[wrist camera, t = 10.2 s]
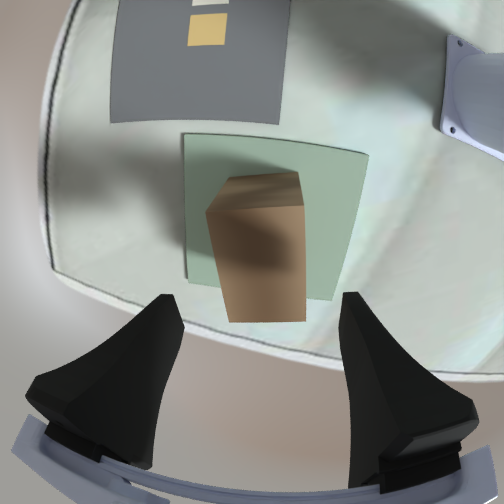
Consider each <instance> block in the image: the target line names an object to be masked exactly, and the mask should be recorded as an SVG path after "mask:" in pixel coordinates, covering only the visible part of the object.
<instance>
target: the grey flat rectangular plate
mask: <svg viewBox="0 0 504 504" xmlns="http://www.w3.org/2000/svg"><path fill="white" fill-rule="evenodd" d="M289 10H290V0H120V4H119V10H118V16H117V23H116V30H115V39H114V48H113V60H112V76H111V123H120V122H132V121H149V120H225V121H242V122H255V123H266V124H276V125H279V119H280V109H281V99H282V89H283V78H284V67H285V57H286V45H287V34H288V22H289Z"/></svg>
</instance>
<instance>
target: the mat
mask: <svg viewBox="0 0 504 504" xmlns="http://www.w3.org/2000/svg"><path fill="white" fill-rule="evenodd" d="M368 160H369V155H367V154H362V153H358V152H353V151H348V150H343V149H337V148H332V147H326V146H320V145H314V144H307V143H300V142H293V141H285V140H277V139H267V138H257V137H246V136H232V135H214V134H184V202H185V233H186V253H187V270H188V283H193V284H199V285H206V286H213V287H220V288H221V285H220V281H219V276H218V272H217V267H216V262H215V258H214V253H213V248H212V244H211V239H210V234H209V229H208V224H207V219H206V214H205V211H206V210H207V208H208V207H209V205H210V204H211V203H212V201H213V200H214V198H215V197H216V195H217V194H218V192H219V191H220V189H221V188H222V187H223V185H224V184H225V182H226V181H227V179H228V178H229V177H236V176H247V175H259V174H273V173H289V172H298V174H299V179H300V184H301V190H302V195H303V201H304V209H305V238H306V298H308V299H317V300H327V301H332V298H333V295H334V292H335V289H336V286H337V283H338V279H339V276H340V273H341V270H342V266H343V263H344V259H345V256H346V252H347V249H348V245H349V242H350V238H351V234H352V230H353V226H354V223H355V219H356V215H357V210H358V206H359V202H360V198H361V193H362V189H363V184H364V179H365V175H366V170H367V165H368Z"/></svg>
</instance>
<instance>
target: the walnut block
mask: <svg viewBox="0 0 504 504" xmlns="http://www.w3.org/2000/svg"><path fill="white" fill-rule="evenodd" d="M205 214H206V219H207V224H208V229H209V234H210V239H211V244H212V248H213V253H214V258H215V262H216V267H217V272H218V276H219V281H220V285H221V289H222V294H223V298H224V302H225V307H226V311H227V315H228V319H229V322H301V321H306V238H305V209H304V201H303V195H302V190H301V184H300V179H299V174H298V172H289V173H273V174H259V175H247V176H236V177H229V178H228V179H227V181H226V182H225V184H224V185H223V187H222V188H221V189H220V191H219V192H218V194H217V195H216V197H215V198H214V200H213V201H212V203H211V204H210V205H209V207H208V208H207V210H206V211H205Z"/></svg>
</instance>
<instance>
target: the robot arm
mask: <svg viewBox="0 0 504 504" xmlns="http://www.w3.org/2000/svg"><path fill="white" fill-rule="evenodd" d="M457 41H458V42H459V43H460V46H459V45H458V42H457ZM451 127H452V128H453V131H452V133H451V132H450V128H451ZM440 130H441V132H442V133H443V134H446V135H448V136H451V137H453V138H455V139H458V140H460V141H462V142H465V143H467V144H469V145H471V146H474V147H476V148H478V149H480V150H482V151H484V152H486V153H488V154H490V155H492V156H494V157H496V158H498V159H500V160H502V161H504V53H488V54H486V53H484V52H483V51H481V50H479V49H478V48H476V47H475V46H473V45H471V44H470V43H468V42H466V41H464V40H463V39H461V38H459V37H457V36H455V35H453V34H452V35H448V36H447V61H446V78H445V89H444V99H443V107H442V114H441V121H440ZM184 328H185V327H184V324H183V321H182V318H181V316H180V313H179V310H178V307H177V304H176V301H175V299H174V296H173V294H160V295H159V296H158V297H157V298H156V299H154V300H153V301H152V302H151V303H150V304H149V305H148V306H146V307H145V308H144V309H143V310H142V311H141V312H140V313H139V314H137V315H136V316H135V317H134V318H133V319H132V320H131V321H130V322H128V323H127V324H126V325H125V326H124V327H122V328H121V329H120V330H119V331H118V332H116V333H115V334H114V335H113V336H111V337H110V338H109V339H107V340H106V341H105V342H103V343H102V344H101V345H99V346H98V347H96V348H95V349H93V350H91V351H90V352H88V353H86V354H85V355H83V356H81V357H80V358H78V359H76V360H74V361H72V362H70V363H68V364H66V365H64V366H62V367H59V368H57V369H55V370H52V371H49V372H46V373H44V374H41V375H38V376H36V377H35V379H34V381H33V382H32V384H31V386H30V388H29V389H28V391H27V393H26V395H25V397H26V399H27V400H28V402H29V403H30V404H31V405H32V406H33V407H34V408H35V409H36V410H37V411H39V412H40V413H41V414H42V415H43V416H44V417H45V418H47V419H48V420H49V421H50V422H49V424H48V425H46V424H45V423H43V422H42V421H40V420H39V419H37V418H35V417H34V416H32V415H31V414H29V415H28V416H27V418H26V420H25V422H24V424H23V426H22V428H21V430H20V432H19V434H18V436H17V438H16V441H15V443H14V445H13V447H12V449H11V451H12V453H13V454H15V455H16V456H17V457H18V458H19V459H21V460H22V461H23V462H24V463H25V464H27V465H28V466H29V467H30V468H31V469H32V470H34V471H35V472H36V473H37V474H39V475H40V476H41V477H42V478H43V479H45V480H46V481H47V482H48V483H49V484H51V485H52V486H53V487H55V488H56V489H57V490H59V491H60V492H61V493H63V494H64V495H66V496H67V497H68V498H70V499H71V500H73V501H74V502H76V503H77V504H170V501H169V500H168V499H165V498H162V497H159V496H156V495H154V494H152V493H150V492H148V491H145V490H142V489H140V488H137V487H134V486H132V485H131V483H130V482H129V481H131V482H133V483H137V484H139V485H142V486H145V487H148V488H151V489H155V490H158V491H162V492H165V493H169V494H173V495H177V496H181V497H185V498H190V499H195V500H199V501H204V502H210V503H216V504H487V503H488V502H490V501H492V500H493V499H495V498H497V496H498V489H497V482H496V476H495V470H494V464H493V459H492V455H491V450H490V446H489V445H486V446H484V447H482V448H480V449H477V450H475V451H473V452H471V453H468V454H466V455H464V456H462V457H460V458H459V454H458V452H459V451H461V448H462V447H461V443H460V441H462V440H463V439H464V438H465V437H467V436H468V435H469V434H470V433H471V432H472V431H473V430H474V429H476V427H477V426H478V424H479V418H478V415H477V411H476V408H475V405H474V403H473V400H472V399H470V398H468V397H467V396H465V395H463V394H461V393H460V392H458V391H456V390H454V389H453V388H451V387H450V386H448V385H446V384H445V383H444V382H442V381H441V380H439V379H438V378H437V377H435V376H434V375H433V374H431V373H430V372H429V371H428V370H426V369H425V368H424V367H423V366H421V365H420V364H419V363H418V362H417V361H416V360H415V359H413V358H412V357H411V356H410V355H409V354H408V353H407V352H406V351H405V350H404V349H403V348H402V347H401V345H400V344H399V343H398V342H397V341H396V340H395V339H394V338H393V337H392V335H391V334H390V333H389V332H388V331H387V330H386V328H385V327H384V326H383V325H382V323H381V322H380V321H379V320H378V318H377V317H376V316H375V314H374V313H373V312H372V310H371V309H370V308H369V306H368V305H367V303H366V302H365V301H364V299H363V298H362V296H361V295H360V294H359V293H358V292H343V298H342V306H341V313H340V320H339V327H338V329H339V341H340V350H341V355H342V360H343V366H344V371H345V375H346V381H347V387H348V392H349V400H350V418H351V419H350V420H351V451H350V471H349V483H348V489H342V490H332V491H318V492H262V491H248V490H237V489H229V488H221V487H215V486H209V485H203V484H197V483H192V482H188V481H183V480H179V479H174V478H170V477H166V476H163V475H159V474H155V473H152V472H149V471H145V470H148V469H150V468H151V467H152V460H153V446H154V438H155V430H156V424H157V419H158V413H159V409H160V404H161V400H162V395H163V392H164V389H165V386H166V383H167V380H168V378H169V375H170V372H171V370H172V367H173V364H174V362H175V359H176V357H177V354H178V351H179V349H180V345H181V341H182V337H183V333H184ZM124 463H125V464H124ZM127 464H128V465H127ZM130 465H131V466H130ZM133 466H134V467H133ZM136 467H137V468H136ZM139 468H140V469H139ZM142 469H143V470H142Z"/></svg>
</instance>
